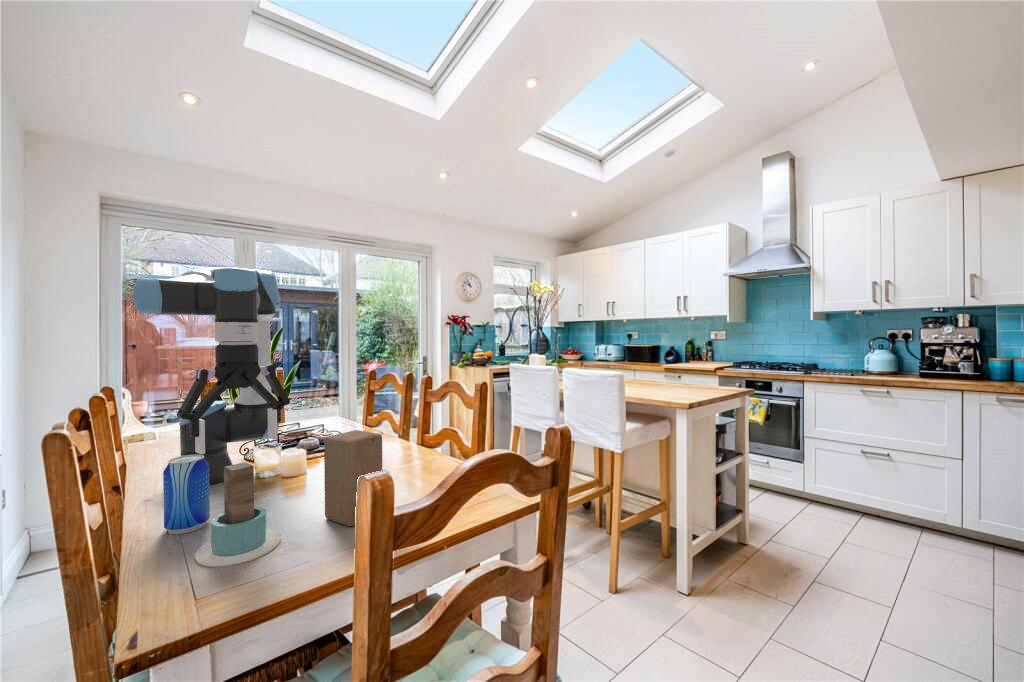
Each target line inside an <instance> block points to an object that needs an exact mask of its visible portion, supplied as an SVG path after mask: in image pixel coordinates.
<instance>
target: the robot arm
mask: <svg viewBox="0 0 1024 682" xmlns="http://www.w3.org/2000/svg"><path fill="white" fill-rule="evenodd" d="M132 299H133V305H134V308H135V310H136V311H137V313H139V314H142V315H155V316H161V315H162V316H165V315H167V316H168V315H169V316H171V315H173V316H175V315H176V316H183V315H184V316H215V317H214V318H215V319H214V342H216V343H218V344H217V345H215V346H214V348H215V349H214V351H215V358H214V359H215V367H214V369H205V368H198V369H197V370H196V373H195V380H194V382H193V384H192V386H191V388H190V389H189V391H188V393H187V394H186V397H185V398H184V400H183V402H182V404H181V406H180V407H179V410H178V411H177V413H176V417H177V418H179V423H178V425H179V434H180V435H179V438H180V439H179V442H180V443H179V444H180V447H179V448H180V449H179V450H180V456H185V455H204V459H205V460H206V461H207V463H208V464H209V486H210V485H213V484H217V483H218V484H219V483H221V482H224V467H225V466H230V465H234V464H233V462H232V459H231V457H230V454H229V451H228V444H229V443H239V442H248V441H249V442H250V441H257V440H258V441H259V440H260V441H263V440H266V439H271V440H278V433H279V429H280V423H281V422H282V410H283V408H284V406H287V405H290V403H291V401H290V398H289V397H288V394H287V393H286V391H285V390H284V387H283V385H282V384H281V382H280V380H279V378H278V377H277V375H276V369H275V365H273V364H272V363H271V362H272V361H271V357H272V356H271V355H272V354H271V350H272V349H271V319H272V318H273V317H274V316H275V315H276V310H278V309H280V308H281V300H280V294H279V287H278V282H277V276H276V275H275V273H274V272H273V271H270V270H269V271H268V270H261V269H249V268H242V267H241V268H240V267H208V268H201V269H200V268H199V269H193V270H189V271H186V272H184V273H182V274H180V275H179V276H178V277H173V278H155V277H153V278H139V279H137V280H136V281H134V285H133V290H132ZM213 376H214V378H215V379H217V381H216V382H215V383H214V384H213V386H212V387H211V389H210V390H209V391H208V393H206V395H205V396H204V397H203V398H202V399H201V400H200V402H199V403H198V404H197V402H198V400H199V398H200V396H201V394H202V392H203V391H204V389H205V387H206V385H207V383H208V381H210V380H211V378H212V377H213ZM236 389H239V395H237V397H236V398H234V402H233V403H234V404H229V405H228V403H227V401H226V400H217V399H219V397H220V396H221V395H222V394H223V393H225V391H226V390H236ZM272 391H273V392H272Z"/></svg>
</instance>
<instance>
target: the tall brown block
mask: <svg viewBox="0 0 1024 682" xmlns="http://www.w3.org/2000/svg"><path fill="white" fill-rule="evenodd" d="M254 469H255V467H254V465H253V464H251V463H248V462H246V461H244V462H239V463H235V464H233V465H230V466H225V467H224V481H223V486H224V487H223V488H224V489H223V491H224V493H223V494H224V495H223V497H224V499H223V500H224V512H225V524H236V523H242V522H245V521H248V520H251V519H254V507H255V484H254V483H255V481H254V479H255V478H254V476H255V473H254Z"/></svg>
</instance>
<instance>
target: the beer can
mask: <svg viewBox="0 0 1024 682" xmlns="http://www.w3.org/2000/svg"><path fill="white" fill-rule="evenodd" d="M162 474H163V475H162V477H163V479H162V480H163V481H162V483H163V489H162V491H163V528H164V529H165V530H166V531H167V532H168V534H171V535H182V534H183V535H184V534H188V533H192V532H195V531H197V530H198V531H199V530H201V529H202V528H204V527H206V525H207V523H208V522H209V520H210V519H211V518H210V517H211V514H210V513H211V508H210V507H211V506H210V502H211V501H210V498H211V497H210V496H211V495H210V491H211V490H210V485H209V464H208V463H207V461H206V460H205V459H204V455H185V456H181V455H180V456H176V457H173V458H170V459H169V460H168V462H167V465H166V467H165V468H164V469H163V472H162Z"/></svg>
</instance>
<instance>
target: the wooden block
mask: <svg viewBox="0 0 1024 682" xmlns="http://www.w3.org/2000/svg"><path fill="white" fill-rule="evenodd" d="M323 444H324V445H323V447H324V448H323V449H324V451H323V452H324V453H323V454H324V457H323V458H324V460H323V461H324V464H323V465H324V516H325V518H326V520H328V521H332V522H335V523H338V524H341V525H344V526H346V527H348V528H349V527H350V526H352V527H354V526H356V525H355V507H356V492H357V479H358V477H359V476H361V475H365V474H368V473H372V472H376V471H381V470H382V471H383V436H382V434H381V433H377V432H370V431H365V430H358V429H353V430H350V431H347V432H342V433H338V434H333V435H329V436H327V437H325V438H324V443H323Z"/></svg>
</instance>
